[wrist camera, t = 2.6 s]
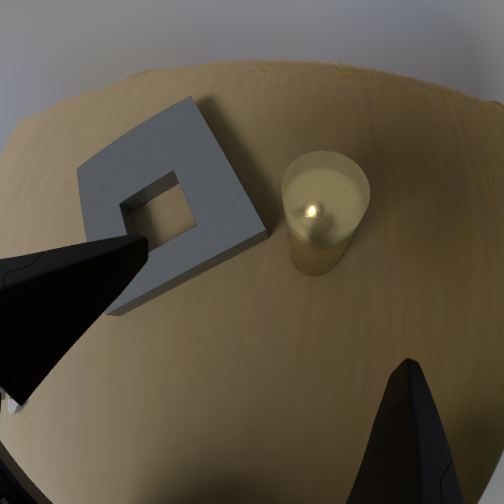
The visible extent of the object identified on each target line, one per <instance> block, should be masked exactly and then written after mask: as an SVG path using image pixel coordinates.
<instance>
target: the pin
mask: <svg viewBox="0 0 504 504" xmlns="http://www.w3.org/2000/svg"><path fill="white" fill-rule="evenodd" d="M281 193H282V199H283V206H284V212H285V219H286V225H287V232H288V239H289V246H290V253H291V258H292V261H293V263H294V265H295V266H296V267H297V269H299V270H300V271H301V272H303V273H305V274H307V275H311V276H319V275H323V274H326V273H328V272H329V271H331V270H332V269H333V268H334V266H335V265H336V263H337V262H338V260H339V258H340V257H341V255H342V253H343V251H344V250H345V248H346V246H347V244H348V243H349V241H350V239H351V237H352V236H353V234H354V232H355V230H356V228H357V226H358V225H359V223H360V221H361V219H362V217H363V215H364V214H365V212H366V210H367V207H368V205H369V201H370V186H369V182H368V179H367V177H366V175H365V173H364V172H363V170H362V169H361V168H360V167H359V166H358V165H357V164H356V163H355V162H354V161H353V160H351V159H350V158H348V157H346V156H344V155H342V154H339V153H336V152H332V151H314V152H310V153H307V154H304V155H302V156H300V157H298V158H297V159H296V160H294V161H293V162H292V163H291V164H290V165H289V167H288V168H287V170H286V171H285V173H284V176H283V179H282V184H281Z"/></svg>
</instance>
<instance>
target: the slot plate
mask: <svg viewBox="0 0 504 504" xmlns="http://www.w3.org/2000/svg"><path fill="white" fill-rule="evenodd" d="M77 177H78V186H79V194H80V202H81V209H82V215H83V222H84V227H85V233H86V238H87V242H91V241H96V240H102V239H107V238H112V237H118V236H123V235H129V234H135V233H137V232H136V229H135V225H134V222H133V218H132V215H131V212H132V211H134V210H135V209H137V208H138V207H140V206H142V205H143V204H145V203H146V202H148V201H150V200H151V199H153V198H155V197H156V196H158V195H160V194H161V193H163V192H165V191H166V190H168V189H170V188H172V187H173V186H175V185H177V184H180V186H181V189H182V191H183V194H184V196H185V199H186V201H187V203H188V206H189V208H190V210H191V213H192V215H193V217H194V220H195V222H196V224H197V226H195V227H193V228H192V229H190V230H188V231H186V232H184V233H183V234H181V235H179V236H177V237H175V238H174V239H172V240H170V241H168V242H167V243H165V244H163V245H161V246H160V247H158V248H156V249H154V250H153V251H151V252H149V257H148V261H147V263H146V264H145V265H144V267H143V268H142V269H141V270H140V271H139V273H138V274H137V275H136V276H135V277H134V279H133V280H132V281H131V282H130V284H129V285H128V286H127V287H126V289H125V290H124V291H123V292H122V293H121V294H120V296H119V297H118V298H117V299H116V300H115V301H114V302H113V303H112V304H111V305H110V306H109V307H108V308H107V309H106V310H105V314H106V315H113V316H121V315H123V314H125V313H127V312H129V311H130V310H132V309H134V308H136V307H138V306H140V305H142V304H144V303H146V302H148V301H149V300H151V299H153V298H155V297H157V296H159V295H161V294H163V293H165V292H167V291H169V290H170V289H172V288H174V287H176V286H178V285H180V284H182V283H184V282H186V281H188V280H190V279H191V278H193V277H195V276H197V275H199V274H201V273H203V272H205V271H207V270H209V269H211V268H213V267H214V266H216V265H218V264H220V263H222V262H224V261H226V260H228V259H230V258H232V257H234V256H236V255H238V254H239V253H241V252H243V251H245V250H247V249H249V248H251V247H253V246H255V245H257V244H259V243H261V242H263V241H264V240H266V239H268V238H269V236H268V234H267V231H266V229H265V227H264V225H263V223H262V221H261V219H260V217H259V216H258V214H257V212H256V210H255V208H254V207H253V205H252V203H251V201H250V199H249V197H248V196H247V194H246V192H245V190H244V188H243V187H242V185H241V183H240V181H239V179H238V178H237V176H236V174H235V172H234V170H233V169H232V167H231V165H230V163H229V162H228V160H227V158H226V156H225V154H224V153H223V151H222V149H221V147H220V146H219V144H218V142H217V140H216V139H215V137H214V135H213V133H212V132H211V130H210V128H209V126H208V125H207V123H206V121H205V119H204V118H203V116H202V114H201V113H200V111H199V109H198V107H197V106H196V104H195V102H194V101H193V99H192V97H191V96H189V97H187V98H185V99H184V100H182V101H180V102H178V103H176V104H174V105H172V106H170V107H169V108H167V109H165V110H163V111H162V112H160V113H158V114H156V115H155V116H153V117H151V118H150V119H148V120H146V121H145V122H143V123H141V124H140V125H138V126H136V127H135V128H133V129H132V130H130V131H129V132H127V133H126V134H124V135H123V136H121V137H120V138H118V139H117V140H115V141H114V142H112V143H111V144H109V145H108V146H106V147H105V148H104V149H102V150H101V151H99V152H98V153H97V154H95V155H94V156H93V157H91V158H90V159H89V160H87V161H86V162H85V163H83V164H82V165H81V166H80V167H78V168H77Z"/></svg>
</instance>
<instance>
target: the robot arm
mask: <svg viewBox="0 0 504 504" xmlns="http://www.w3.org/2000/svg"><path fill="white" fill-rule="evenodd" d="M148 257H149V253H148V239H147V238H146V237H145V236H143V235H141V234H139V233H135V234H129V235H123V236H118V237H112V238H107V239H102V240H96V241H91V242H86V243H81V244H76V245H71V246H66V247H61V248H56V249H52V250H47V251H42V252H37V253H33V254H28V255H23V256H17V257H11V258H4V259H0V389H1V388H2V389H3V390H4V391H5V392H6V393H7V394H8V395H9V396H10V397H11V398H12V399H13V400H14V401H15V402H16V403H17V404H19V405H20V406H22V405H23V404H24V403H25V402H26V401H27V399H28V398H29V397H30V396H31V394H32V393H33V392H34V391H35V389H36V388H37V387H38V386H39V384H40V383H41V382H42V381H43V380H44V378H45V377H46V376H47V375H48V374H49V372H50V371H51V370H52V369H53V368H54V366H55V365H56V364H57V363H58V362H59V361H60V359H61V358H62V357H63V356H64V355H65V354H66V353H67V351H68V350H69V349H70V348H71V347H72V346H73V345H74V344H75V342H76V341H77V340H78V339H79V338H80V337H81V336H82V335H83V334H84V333H85V331H86V330H87V329H88V328H89V327H90V326H91V325H92V324H93V323H94V322H95V321H96V320H97V319H98V317H99V316H100V315H101V314H102V313H103V312H104V311H105V310H106V309H107V308H108V307H109V306H110V305H111V304H112V303H113V302H114V301H115V300H116V299H117V298H118V297H119V296H120V294H121V293H122V292H123V291H124V290H125V289H126V287H127V286H128V285H129V284H130V282H131V281H132V280H133V279H134V277H135V276H136V275H137V274H138V273H139V271H140V270H141V269H142V268H143V267H144V265H145V264H146V263H147V261H148ZM1 397H2V393H1V392H0V410H1ZM451 459H452V455H451V452H450V448H449V445H448V442H447V438H446V435H445V432H444V429H443V426H442V423H441V420H440V417H439V414H438V411H437V408H436V405H435V403H434V400H433V397H432V395H431V392H430V389H429V387H428V384H427V382H426V379H425V377H424V374H423V372H422V369H421V367H420V364H419V363H418V362H417V361H415V360H413V359H410V358H406V359H405V360H404V361H403V362H402V363H401V364H400V365H399V366H398V367H397V368H396V369H395V370H394V371H393V372H392V374H391V375H390V377H389V380H388V383H387V386H386V389H385V392H384V395H383V398H382V401H381V404H380V406H379V409H378V412H377V415H376V417H375V420H374V423H373V427H372V430H371V434H370V437H369V441H368V444H367V447H366V451H365V454H364V457H363V460H362V463H361V466H360V469H359V471H358V474H357V477H356V480H355V482H354V485H353V488H352V490H351V493H350V495H349V498H348V500H347V502H346V504H465V502H464V498H463V495H462V491H461V488H460V485H459V481H458V477H457V474H456V470H455V466H454V462H453V460H451ZM0 504H53V503H52V502H51V501H50V500H49V499H48V498H47V497H46V496H45V495H44V494H43V493H42V492H41V491H40V490H39V489H38V488H37V486H36V485H35V484H34V483H33V482H32V481H31V480H30V479H29V477H28V476H27V475H26V474H25V473H24V471H23V470H22V469H21V468H20V467H19V465H18V464H17V463H16V462H15V460H14V459H13V458H12V456H11V455H10V454H9V452H8V451H7V450H6V448H5V447H4V445H3V444H2V442H1V441H0Z"/></svg>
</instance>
